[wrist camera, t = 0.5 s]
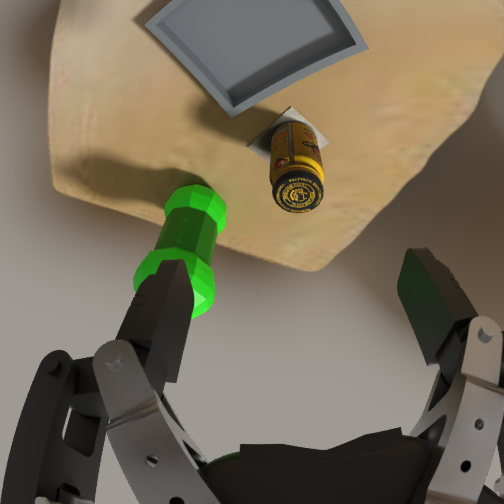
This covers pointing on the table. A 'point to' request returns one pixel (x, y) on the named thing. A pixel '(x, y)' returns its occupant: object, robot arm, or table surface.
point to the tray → (255, 43)
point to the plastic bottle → (189, 240)
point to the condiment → (293, 161)
